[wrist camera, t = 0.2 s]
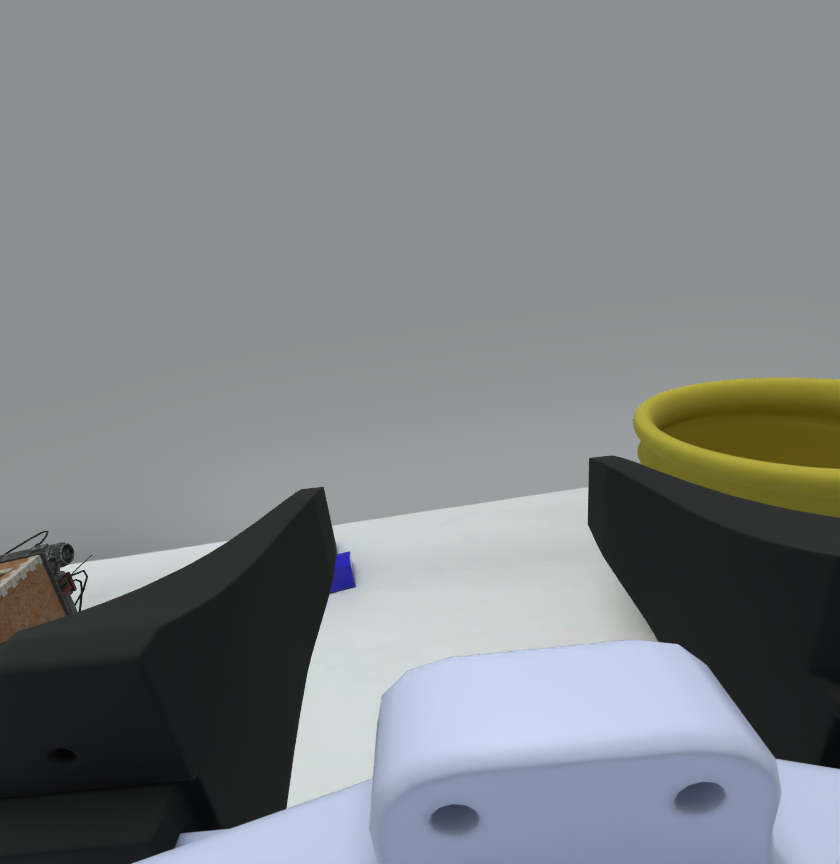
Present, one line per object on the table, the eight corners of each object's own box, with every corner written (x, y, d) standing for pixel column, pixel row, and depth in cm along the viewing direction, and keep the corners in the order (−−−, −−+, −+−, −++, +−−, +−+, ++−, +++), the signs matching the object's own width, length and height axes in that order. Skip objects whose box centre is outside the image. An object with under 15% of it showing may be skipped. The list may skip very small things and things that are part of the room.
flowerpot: (581, 599, 38) (576, 416, 32) (726, 530, 44) (741, 366, 38) (844, 812, 22) (918, 520, 17) (1014, 658, 28) (1109, 407, 23)
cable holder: (355, 586, 44) (347, 551, 42) (319, 595, 43) (310, 561, 42) (349, 543, 51) (342, 513, 50) (319, 551, 51) (311, 520, 49)
